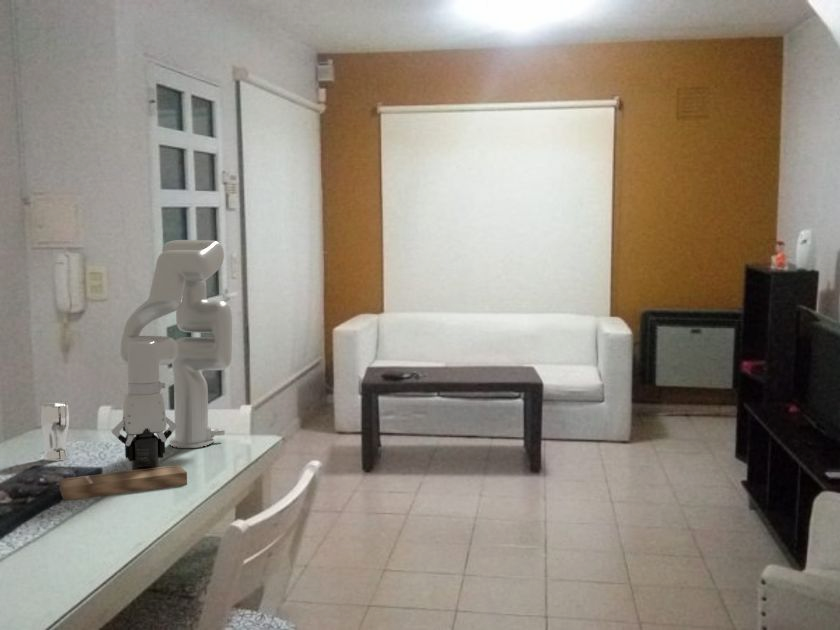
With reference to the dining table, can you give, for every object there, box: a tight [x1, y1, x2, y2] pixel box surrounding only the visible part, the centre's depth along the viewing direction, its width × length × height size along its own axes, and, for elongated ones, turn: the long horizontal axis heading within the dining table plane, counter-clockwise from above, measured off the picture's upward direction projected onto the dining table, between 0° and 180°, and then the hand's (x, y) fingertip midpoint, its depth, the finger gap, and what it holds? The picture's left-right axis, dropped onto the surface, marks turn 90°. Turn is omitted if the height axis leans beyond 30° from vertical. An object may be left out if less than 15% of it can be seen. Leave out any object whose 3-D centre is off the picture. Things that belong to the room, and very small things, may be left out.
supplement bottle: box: [130, 428, 161, 471], centre depth 214 cm, size 7×7×12 cm
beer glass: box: [40, 402, 70, 462], centre depth 231 cm, size 7×7×15 cm
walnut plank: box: [59, 464, 188, 501], centre depth 204 cm, size 28×8×3 cm, turn 119°
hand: (145, 457), depth 215 cm, fingers closed on supplement bottle, 6 cm apart
